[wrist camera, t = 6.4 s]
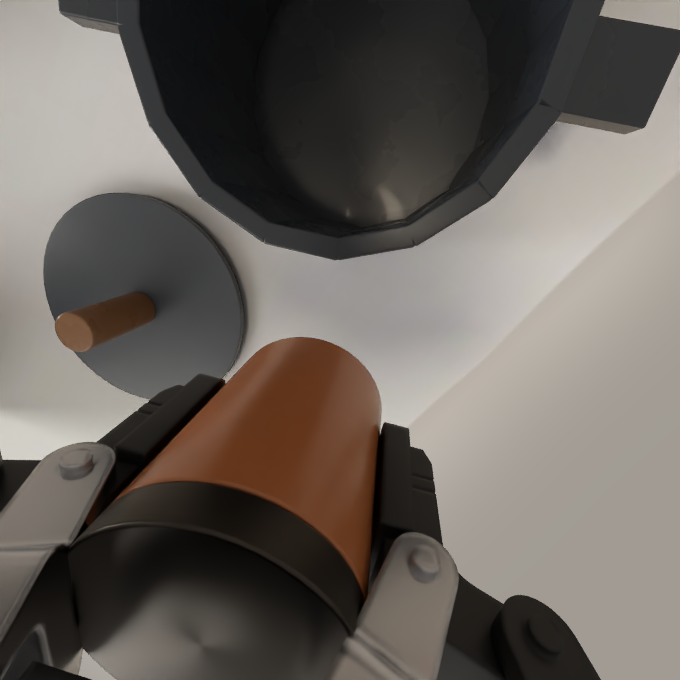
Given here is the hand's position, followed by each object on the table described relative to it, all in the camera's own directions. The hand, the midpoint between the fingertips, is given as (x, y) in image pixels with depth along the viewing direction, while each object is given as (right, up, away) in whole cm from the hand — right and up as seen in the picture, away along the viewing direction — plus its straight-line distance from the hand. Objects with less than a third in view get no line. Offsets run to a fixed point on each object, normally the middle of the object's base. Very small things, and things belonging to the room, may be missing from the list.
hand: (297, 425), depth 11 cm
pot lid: (-13, +5, +14) cm, 20 cm away
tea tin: (0, 0, +1) cm, 1 cm away
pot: (+3, +16, +9) cm, 18 cm away
